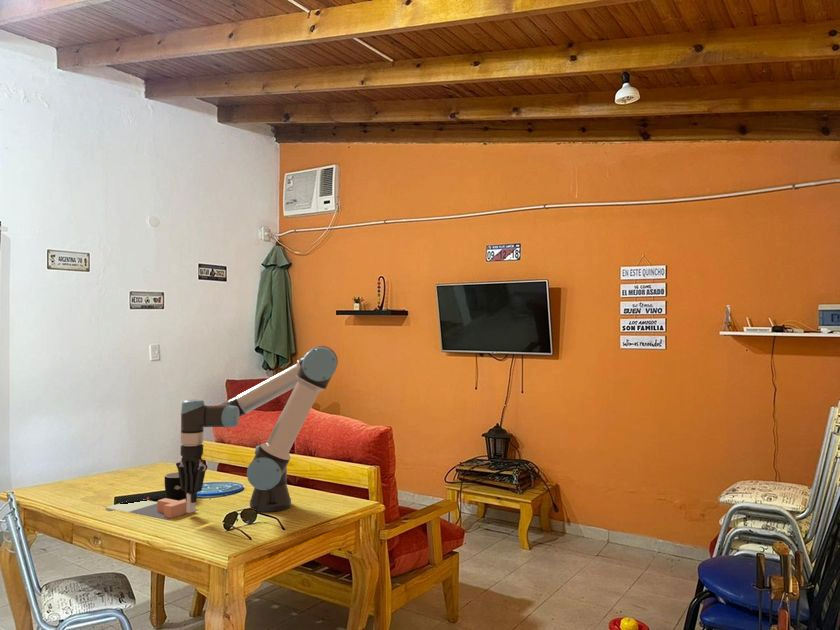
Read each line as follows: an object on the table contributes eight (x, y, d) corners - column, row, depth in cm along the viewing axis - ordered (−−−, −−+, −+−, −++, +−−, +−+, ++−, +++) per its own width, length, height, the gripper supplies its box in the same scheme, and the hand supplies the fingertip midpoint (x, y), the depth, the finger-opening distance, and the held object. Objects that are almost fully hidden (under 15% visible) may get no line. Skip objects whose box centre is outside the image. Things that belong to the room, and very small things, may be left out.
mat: (198, 512, 234) (198, 509, 234) (167, 522, 221) (167, 520, 221) (137, 500, 248) (137, 498, 248) (105, 509, 236) (105, 507, 236)
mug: (171, 505, 241) (171, 478, 242) (159, 501, 247) (160, 474, 247) (200, 499, 250) (201, 473, 251) (188, 495, 256) (189, 469, 256)
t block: (193, 510, 232) (193, 499, 232) (170, 518, 223) (171, 506, 223) (172, 507, 237) (172, 496, 237) (149, 514, 228) (149, 502, 228)
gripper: (213, 444, 226) (212, 511, 226) (186, 440, 232) (185, 506, 232) (197, 447, 220) (196, 517, 219) (170, 444, 226) (169, 511, 225)
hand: (190, 511), depth 226 cm, fingers closed
